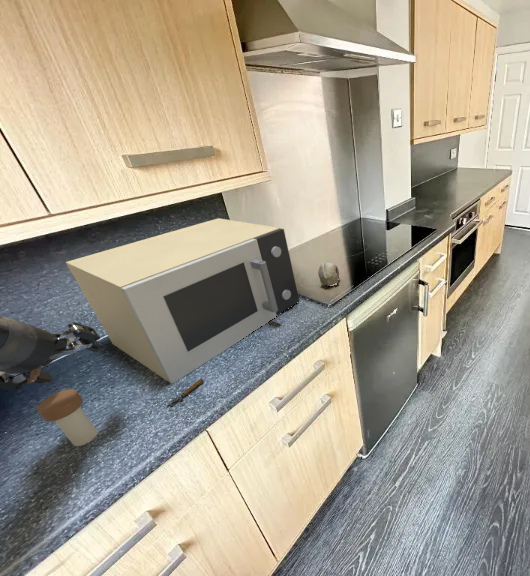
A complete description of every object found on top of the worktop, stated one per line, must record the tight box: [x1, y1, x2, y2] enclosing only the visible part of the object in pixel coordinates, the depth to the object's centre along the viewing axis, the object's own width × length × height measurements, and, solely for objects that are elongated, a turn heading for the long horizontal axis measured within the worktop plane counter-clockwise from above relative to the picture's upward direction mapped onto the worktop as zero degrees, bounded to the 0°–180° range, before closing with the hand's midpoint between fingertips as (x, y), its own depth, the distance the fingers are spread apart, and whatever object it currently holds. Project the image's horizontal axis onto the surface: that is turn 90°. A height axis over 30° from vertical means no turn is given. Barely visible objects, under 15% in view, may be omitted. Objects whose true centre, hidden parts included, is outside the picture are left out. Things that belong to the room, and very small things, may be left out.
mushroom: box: [36, 388, 99, 447], centre depth 63 cm, size 6×6×11 cm
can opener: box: [166, 378, 204, 408], centre depth 75 cm, size 9×2×1 cm, turn 149°
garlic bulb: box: [317, 261, 340, 287], centre depth 120 cm, size 9×8×10 cm
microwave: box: [65, 217, 300, 383], centre depth 97 cm, size 35×44×27 cm
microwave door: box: [121, 239, 278, 385], centre depth 84 cm, size 7×34×27 cm, turn 148°
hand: (73, 362), depth 63 cm, fingers open, 8 cm apart
